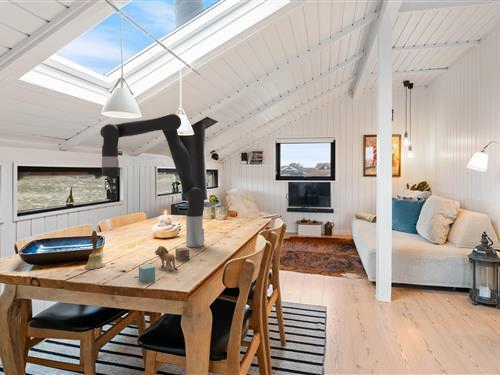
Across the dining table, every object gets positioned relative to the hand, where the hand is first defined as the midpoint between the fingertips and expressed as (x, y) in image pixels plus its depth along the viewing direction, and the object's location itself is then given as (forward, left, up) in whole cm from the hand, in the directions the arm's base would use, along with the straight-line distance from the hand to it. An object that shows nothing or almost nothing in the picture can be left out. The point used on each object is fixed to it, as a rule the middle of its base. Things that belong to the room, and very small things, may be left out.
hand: (111, 199), depth 151 cm
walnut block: (-28, +21, -29) cm, 45 cm away
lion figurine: (-17, +30, -29) cm, 45 cm away
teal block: (-6, +39, -29) cm, 48 cm away
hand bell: (+9, +11, -29) cm, 32 cm away
